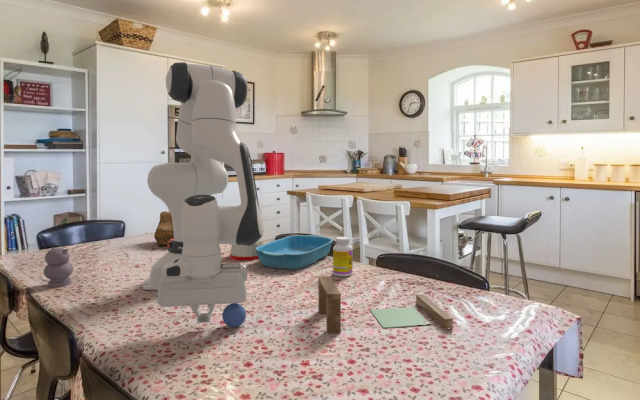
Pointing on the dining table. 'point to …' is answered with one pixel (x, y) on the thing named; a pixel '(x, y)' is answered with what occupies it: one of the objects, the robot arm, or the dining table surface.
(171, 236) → the rough brown rock
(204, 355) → the dining table surface
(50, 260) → the cat figurine
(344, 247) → the supplement bottle
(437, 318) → the stopper wall
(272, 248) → the casserole dish
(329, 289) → the bridge
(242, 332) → the dining table surface
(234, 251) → the kitchen timer
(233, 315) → the ball
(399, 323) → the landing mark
